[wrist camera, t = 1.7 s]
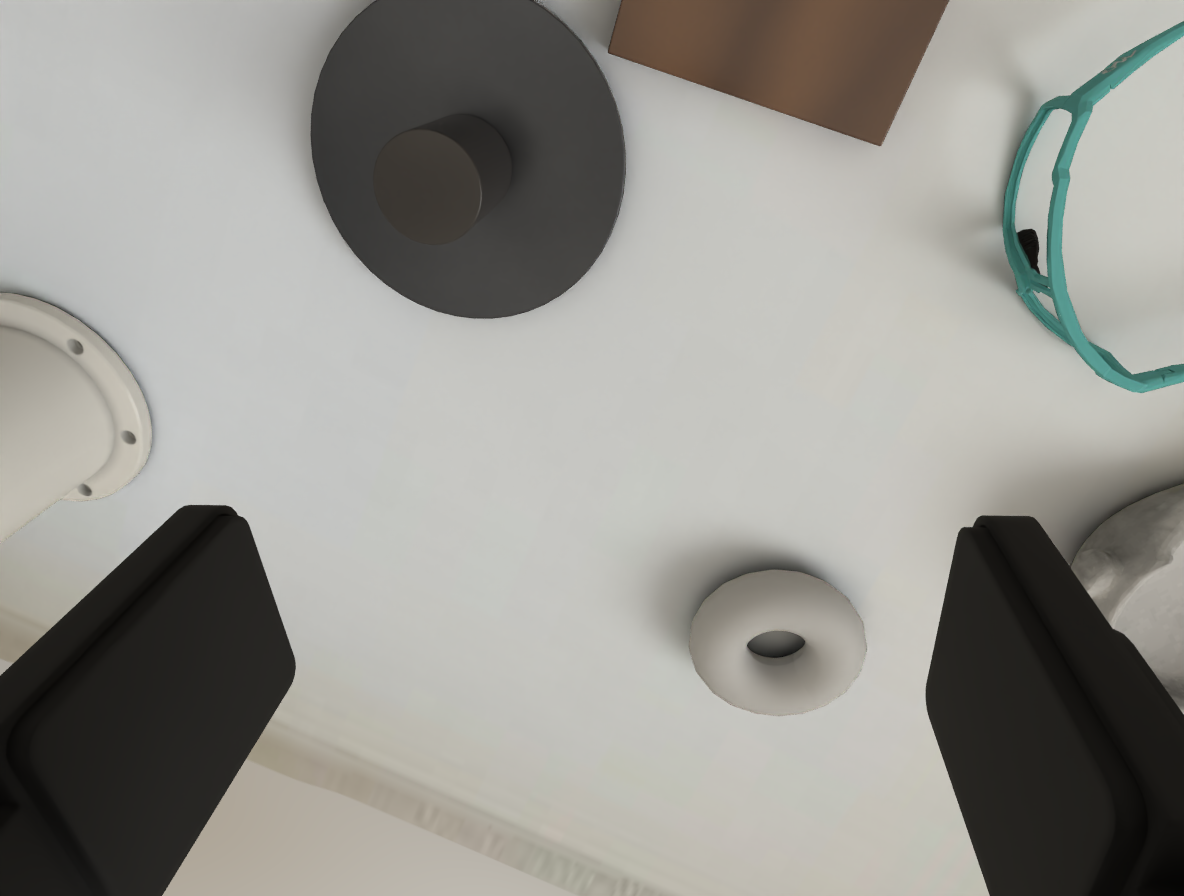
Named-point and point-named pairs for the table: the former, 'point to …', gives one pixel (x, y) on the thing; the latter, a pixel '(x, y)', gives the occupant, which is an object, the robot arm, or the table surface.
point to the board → (789, 53)
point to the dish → (1142, 580)
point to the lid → (468, 152)
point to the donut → (783, 607)
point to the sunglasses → (1025, 243)
